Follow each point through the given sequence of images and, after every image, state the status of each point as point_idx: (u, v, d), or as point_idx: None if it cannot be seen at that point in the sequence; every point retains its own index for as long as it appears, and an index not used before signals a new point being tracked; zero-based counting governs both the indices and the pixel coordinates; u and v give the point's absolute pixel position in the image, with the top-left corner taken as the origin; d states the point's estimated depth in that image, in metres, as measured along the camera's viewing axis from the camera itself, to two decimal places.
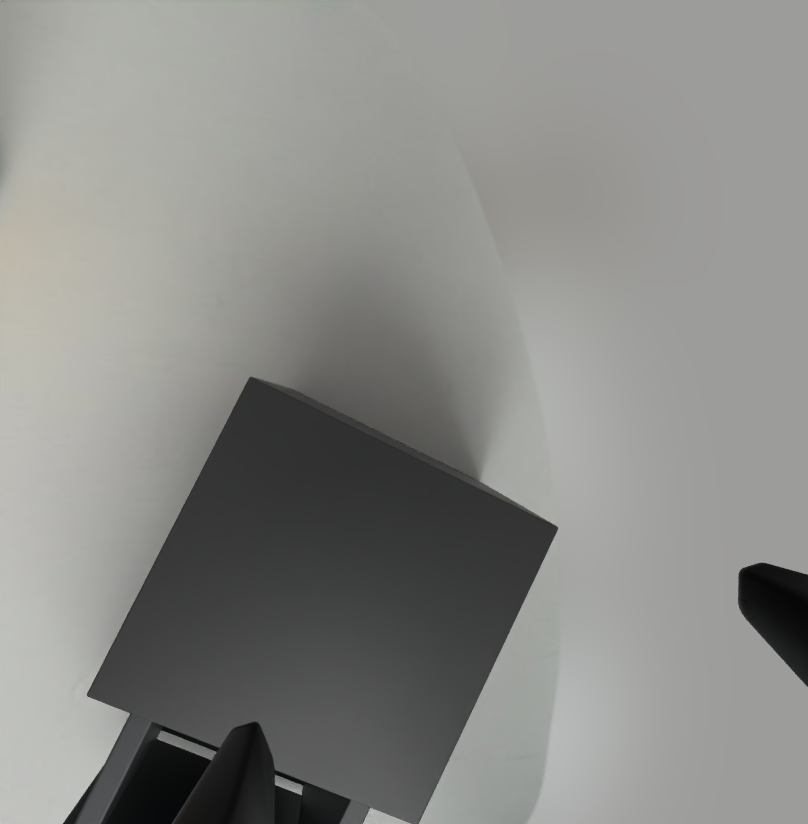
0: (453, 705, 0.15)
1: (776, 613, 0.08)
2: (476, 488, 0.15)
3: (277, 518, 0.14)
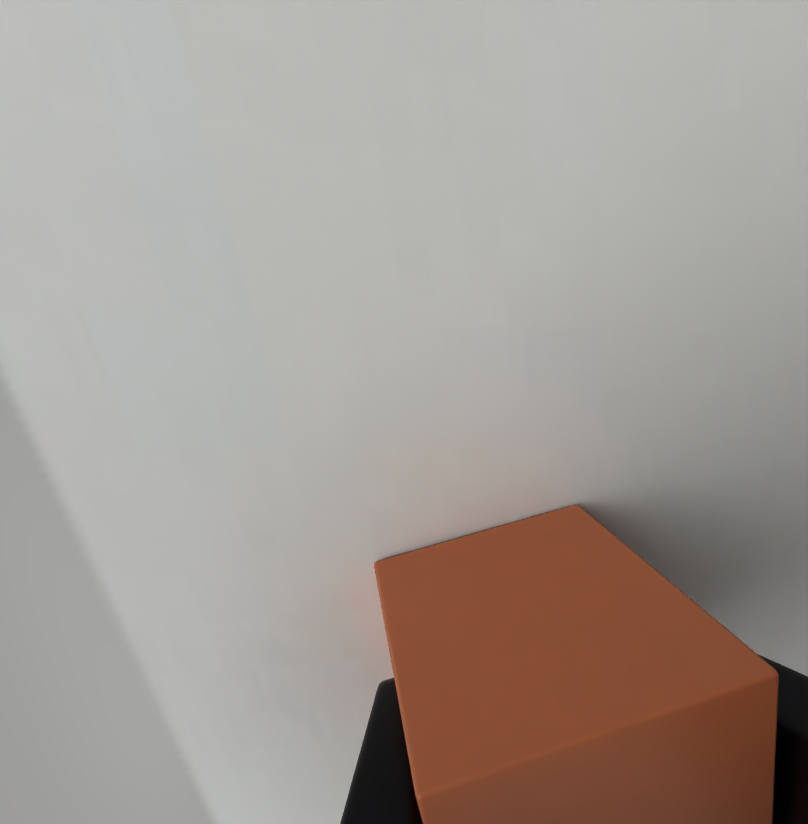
0: None
1: None
2: None
3: None
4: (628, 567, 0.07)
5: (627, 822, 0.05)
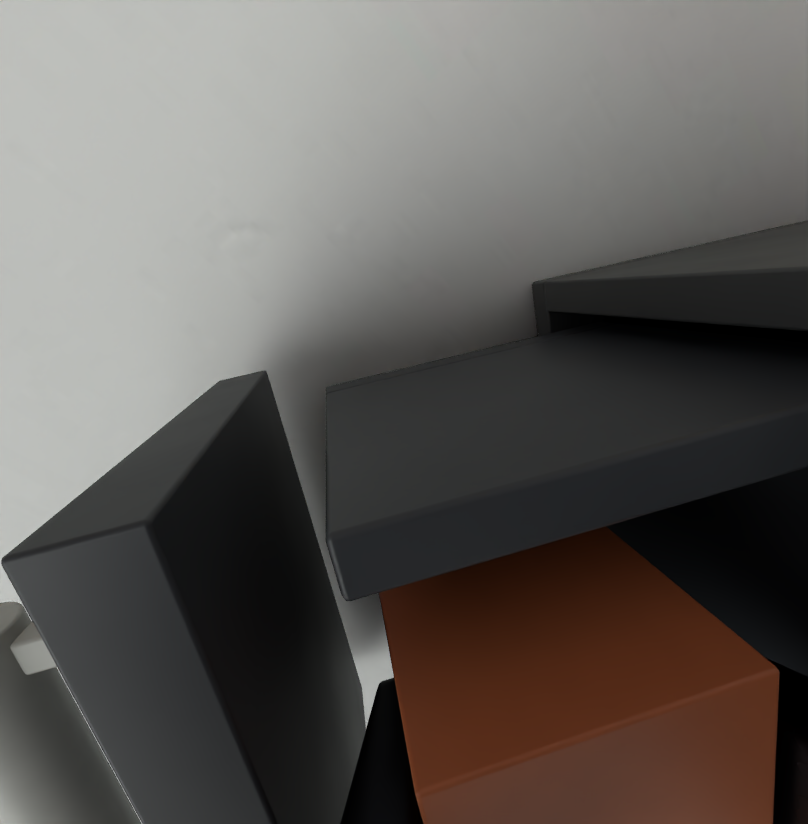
0: None
1: None
2: None
3: None
4: (628, 565, 0.07)
5: (627, 819, 0.05)
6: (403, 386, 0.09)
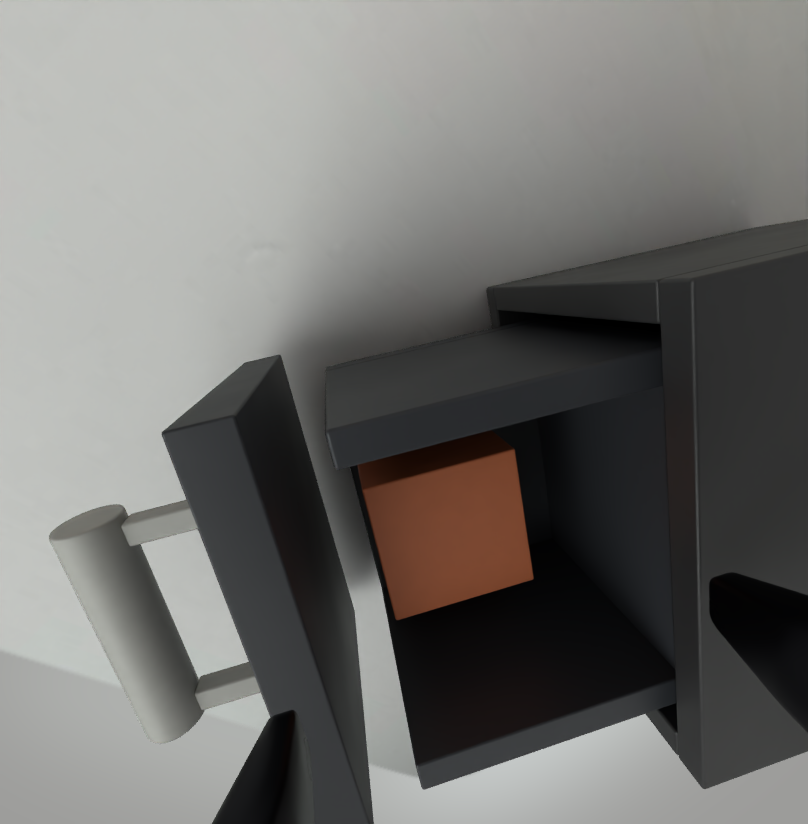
0: None
1: (744, 624, 0.08)
2: None
3: None
4: None
5: (454, 515, 0.12)
6: (381, 364, 0.13)
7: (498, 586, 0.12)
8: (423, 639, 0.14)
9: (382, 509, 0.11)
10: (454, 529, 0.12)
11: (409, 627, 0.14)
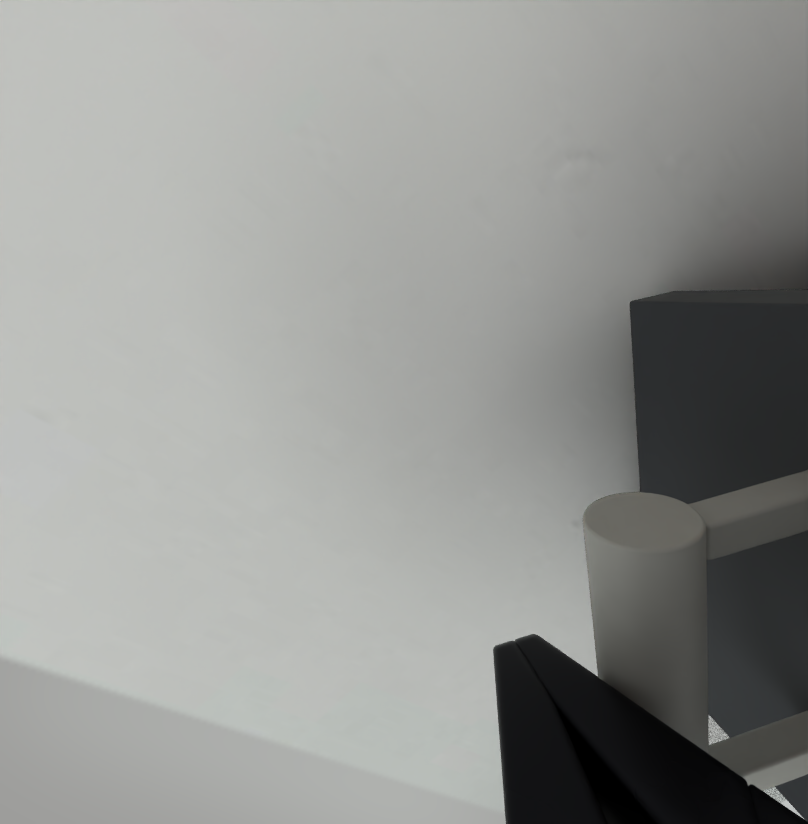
0: None
1: None
2: None
3: None
4: None
5: None
6: None
7: None
8: None
9: None
10: None
11: None
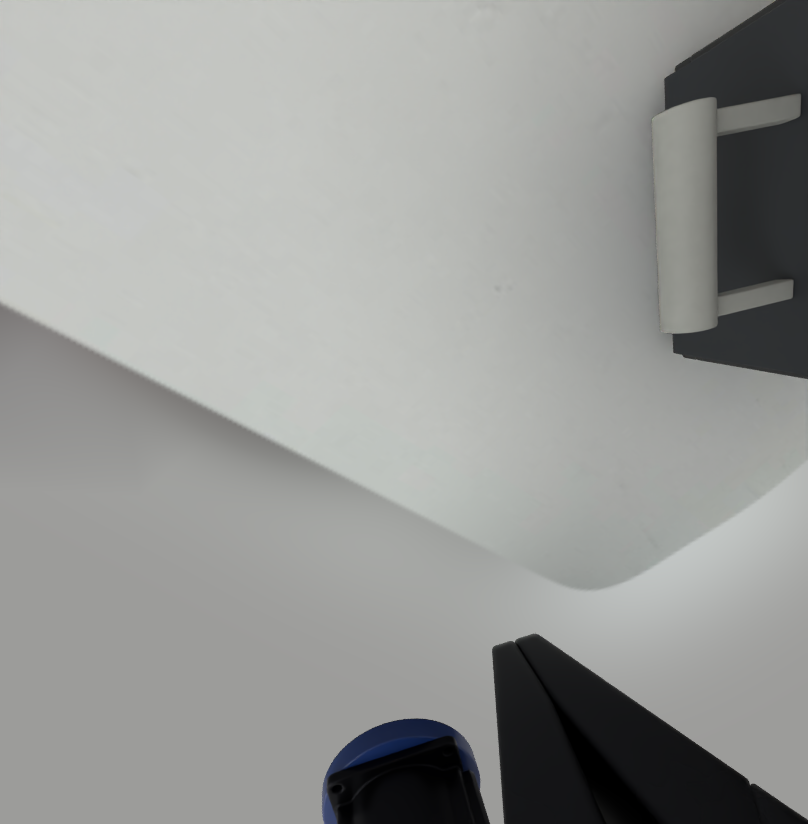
0: None
1: None
2: None
3: None
4: None
5: None
6: None
7: None
8: None
9: None
10: None
11: None
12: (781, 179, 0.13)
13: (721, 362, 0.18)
